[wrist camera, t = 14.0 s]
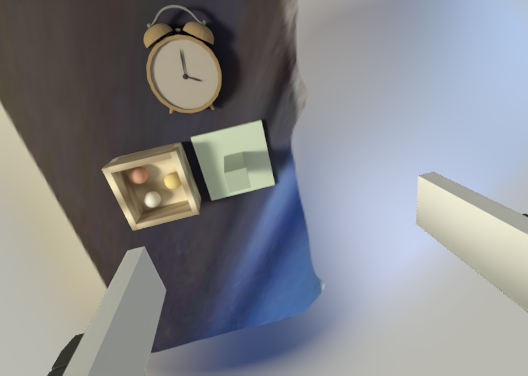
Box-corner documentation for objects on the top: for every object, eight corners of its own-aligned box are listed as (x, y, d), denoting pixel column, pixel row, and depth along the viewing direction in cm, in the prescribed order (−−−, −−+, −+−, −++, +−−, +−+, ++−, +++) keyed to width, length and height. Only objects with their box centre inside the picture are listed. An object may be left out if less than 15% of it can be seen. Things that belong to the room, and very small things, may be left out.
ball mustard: (163, 172, 49) (160, 178, 46) (179, 168, 49) (177, 174, 46) (169, 186, 50) (166, 193, 48) (184, 183, 50) (182, 189, 48)
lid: (191, 136, 48) (183, 151, 39) (260, 119, 49) (269, 130, 40) (211, 198, 54) (209, 224, 45) (273, 182, 55) (284, 205, 45)
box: (115, 157, 48) (101, 168, 42) (181, 141, 48) (176, 150, 43) (142, 214, 53) (132, 230, 47) (201, 199, 53) (198, 213, 48)
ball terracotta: (129, 167, 48) (123, 172, 45) (145, 163, 48) (141, 168, 45) (136, 182, 49) (131, 188, 46) (152, 178, 49) (148, 184, 46)
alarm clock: (157, 117, 44) (126, 6, 35) (162, 108, 48) (135, 6, 39) (226, 111, 45) (212, 3, 36) (225, 103, 49) (212, 3, 40)
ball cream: (143, 190, 50) (138, 197, 47) (158, 186, 50) (155, 193, 47) (149, 204, 51) (145, 212, 48) (164, 200, 51) (161, 208, 49)
